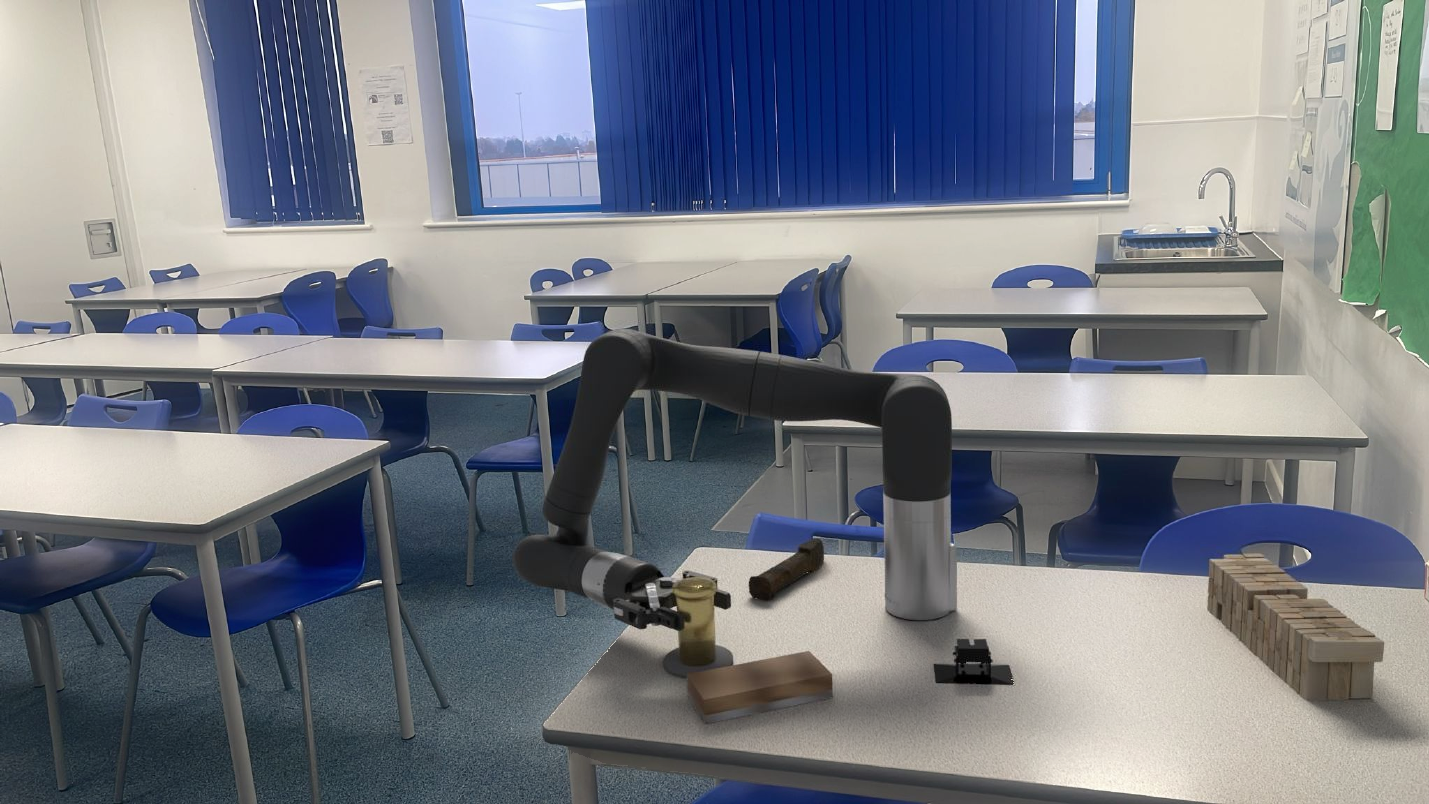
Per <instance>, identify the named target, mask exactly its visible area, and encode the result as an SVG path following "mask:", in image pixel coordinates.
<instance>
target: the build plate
mask: <svg viewBox="0 0 1429 804" xmlns="http://www.w3.org/2000/svg"><path fill="white" fill-rule="evenodd" d="M953 649H954V650H953V651H952V656H954V657H953V663H933V664H932V665H933V674H934V682H935V684H938V685H939V684H940V685H941V684H942V685H943V684H944V685H947V684H948V685H987V686H988V685H990V686H991V685H992V686H1014V685H1013V684H1014V683H1013V682H1015V680H1014V681H1013V680H1011V679H1014V675H1013V673H1011V672H1012V670H1011V666H1010V664H997V663H996V664H994V663H993V662H994V661H993V658H992V652H991V650H990V647H989V645H988V641H987V638H973V644H971V642H970V639H969V638H956V645H954V647H953ZM992 663H993V664H992ZM1012 677H1013V678H1012Z"/></svg>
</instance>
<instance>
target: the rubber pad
mask: <svg viewBox="0 0 1429 804" xmlns="http://www.w3.org/2000/svg"><path fill="white" fill-rule="evenodd" d="M732 665H734V655H733V653H732V651H731V650H729V649H728V648H727V647H725V646H722V645H718V644H716V660H715V661H714V662H713V663H711V664H709V665H705V666H699V667H693V666H687V665H684V664H683V663H681V662H680V660H679V646H678V647H675V648H673V649H672V650H670V651H669V652H668V653H666V654H665V656H664V658H663V666H664V669H665V671H666V672H667V673H668V674H671V675H673V676H675V677H677V678H678V677H679V678H683V679H687V674H690V673H695V672H701V671H706V670H711V669H716V668H722V667H727V666H732Z"/></svg>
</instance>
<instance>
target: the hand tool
mask: <svg viewBox="0 0 1429 804" xmlns="http://www.w3.org/2000/svg"><path fill="white" fill-rule="evenodd" d="M824 561H825V548H824V543H823V540H821V539H820V538H819V537H818V538H813V539H809V540H808V541H806V542H804V543H801V544H800V545H799V546H798V547H797V552H796V553H794V554H793V555H791V556H789V557H788V558H786V559H783V560H782V561H780V562H779V563H778V564H776V565H774V566H772V567H771V568H769V569H767V570H766V571H763V572H762V573H760V574H758V575H753V576H750V578H749V581H748V589H749V591H748V592H749V595H750V596H751V598H752V599H755V598H757V599H756V600H758V599H759V601H764V602H765V601H766V602H767V601H770V600H771V598H774V597H775V596H776V593H777V592H778V591H780V590H782V589H783V588H784V587H787V586H788V585H789V584H791V583H793V582H794V581H796V580H798V579H799V578H800V577H802V576H803V575H805V574H813V573H815V572H816V571H817V570H818V569H819V568H820V567H821V566H822V564H823V563H824ZM819 566H820V567H819ZM814 571H815V572H814ZM807 572H808V573H807Z"/></svg>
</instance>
